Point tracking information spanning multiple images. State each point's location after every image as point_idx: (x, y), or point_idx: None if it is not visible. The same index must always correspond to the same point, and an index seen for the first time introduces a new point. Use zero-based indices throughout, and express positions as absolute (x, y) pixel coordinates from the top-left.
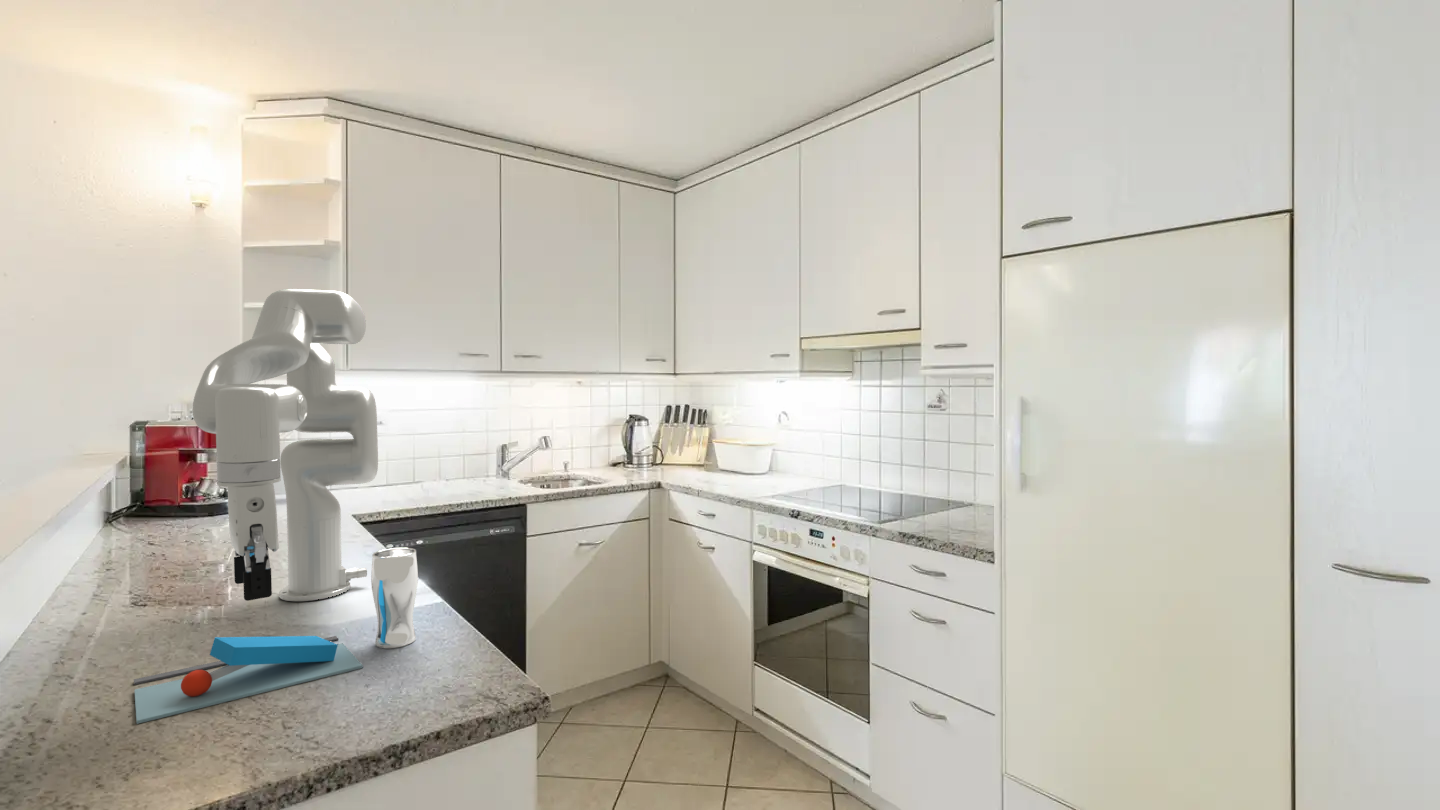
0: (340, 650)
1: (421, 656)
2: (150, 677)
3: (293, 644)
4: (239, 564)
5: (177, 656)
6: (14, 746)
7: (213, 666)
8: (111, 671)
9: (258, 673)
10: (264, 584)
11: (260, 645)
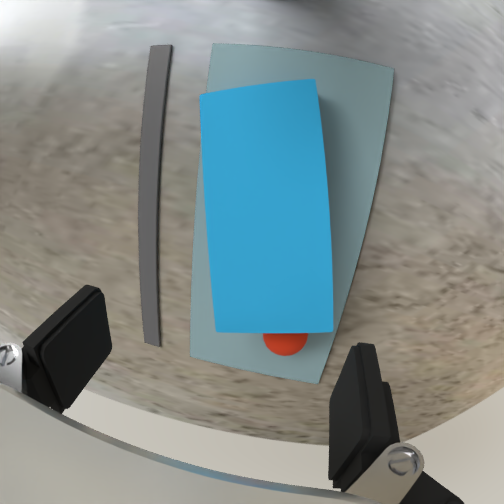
0: (257, 60)
1: None
2: (151, 330)
3: (309, 184)
4: (76, 387)
5: (77, 275)
6: (271, 438)
7: (156, 260)
8: None
9: None
10: (391, 404)
11: (316, 269)
